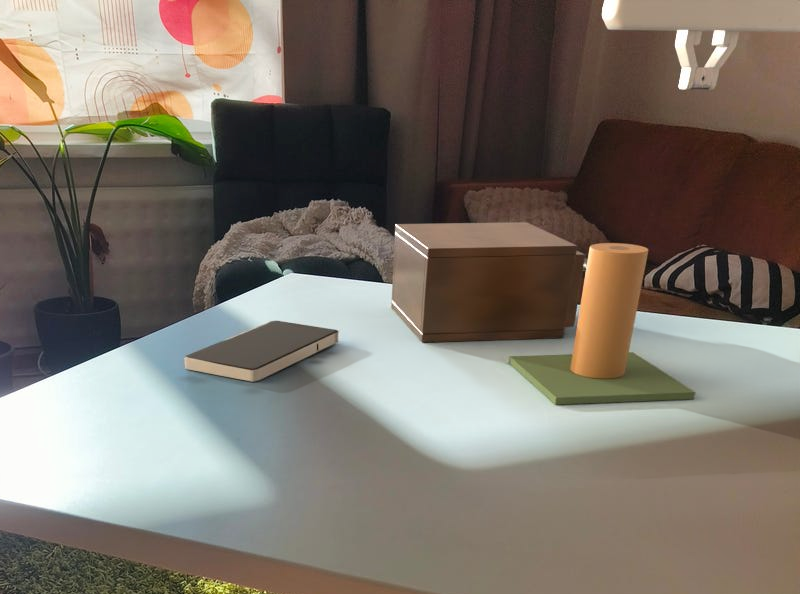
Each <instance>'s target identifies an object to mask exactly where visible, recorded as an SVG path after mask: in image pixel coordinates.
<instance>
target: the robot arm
mask: <svg viewBox="0 0 800 594" xmlns="http://www.w3.org/2000/svg"><path fill="white" fill-rule="evenodd" d="M601 17H602V21H603V22H604V25H605V27H606V29H607V30H610V31H665V32H667V31H671V32H673V31H674V32H675V31H676V37H675V41H674V42H675V43H674V47H675V51H676V54H677V58H678V62H679V64H680V67H681V71H680V77H679V83H678V88H679V90H690V91H691V90H707V91H708V90H715V88H716V86H717V84H718V83H717V82H718V78H719V73H720V69H721V68H722V67H723V66H724V64H725V63H726V62H727V60H728V59H729V58H730V56H731V54H732V53H733V52H734V50H735V48H736V47H737V44H738V40H739V36H740V32H745V33H746V32H747V33H750V32H751V33H800V0H604V1H603V6H602V12H601ZM703 32H713V35H712V42H711V46H712V47H713V46H714V47H715V49H714V51H713V52H712V53H711V55H710V57H709V59H708V60H707V61H706V63H705V65H704V67H703V66H702V67H701V66H699V64H698V60H697V57H696V52H695V47H694V46H699V45H700V44H701V39H702V34H703ZM698 66H699V67H698Z"/></svg>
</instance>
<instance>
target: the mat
mask: <svg viewBox="0 0 800 594" xmlns="http://www.w3.org/2000/svg"><path fill="white" fill-rule="evenodd" d="M572 355H573V353H569V354H567V353H565V354H539V355H537V354H536V355H510V356H509V357H508V364H509V365H510V366H512V368H514V369H515V370H516V371H517V372H518V373H519V374H520V375H521V376H522V377H524V379H526V380H527V381H528V382H529V383H531V384H532V386H533V387H535V388H536V389H537V390H538V391H539V392H541V394H543V396H545V397H546V398H547V399H548V400H549V401H550V402H551V403H552V404H554V405H555V406H556V405H559V406H560V405H580V404H581V405H582V404H583V405H584V404H604V403H605V404H607V403H609V404H610V403H629V402H630V403H631V402H633V403H634V402H653V401H654V402H656V401H657V402H658V401H679V400H680V401H682V400H694V399H695V397H696V391H694V390H693V389H691V388H690V387H688V386H687V385H685V384H684V383H682V382H680V381H679V380H678V379H676V378H674V377H673V376H671V375H669V374H668V373H666V372H665V371H663V370H661V369H660V368H658V367H657V366H655V365H654V364H652V363H651V362H649V361H648V360H646V359H644V358H643V357H641V356H640V355H638V354H637V353H635V352H633V351H629V353H628V358H627V363H626V368H625V373H624V375H623V376H621V377H618V378H611V379H597V378H589V377H584V376H580V375H578V374H575V373H573V372H572V371H571V369H570V367H571V361H572Z"/></svg>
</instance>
